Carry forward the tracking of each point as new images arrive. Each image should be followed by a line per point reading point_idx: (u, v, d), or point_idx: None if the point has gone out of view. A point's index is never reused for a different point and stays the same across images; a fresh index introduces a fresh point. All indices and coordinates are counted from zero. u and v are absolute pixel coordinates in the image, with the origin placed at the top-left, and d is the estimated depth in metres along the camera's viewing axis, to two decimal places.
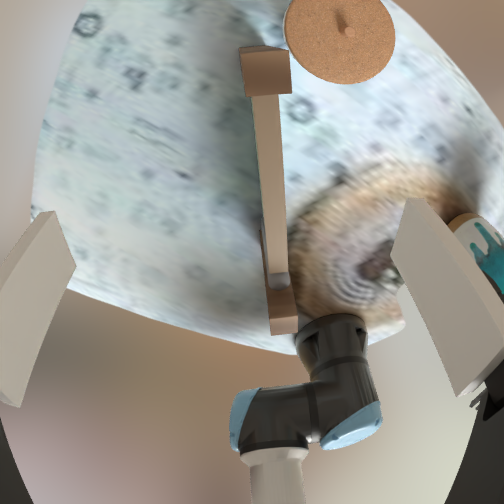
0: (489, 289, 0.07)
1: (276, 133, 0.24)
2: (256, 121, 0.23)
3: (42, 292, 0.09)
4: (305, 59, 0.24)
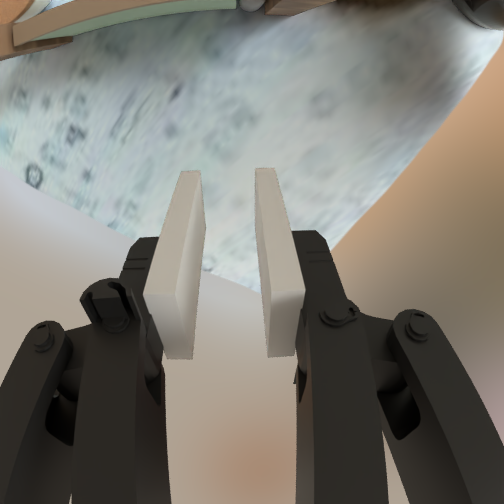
0: (286, 242, 0.08)
1: (44, 15, 0.14)
2: (34, 36, 0.15)
3: (198, 244, 0.11)
4: (21, 3, 0.15)
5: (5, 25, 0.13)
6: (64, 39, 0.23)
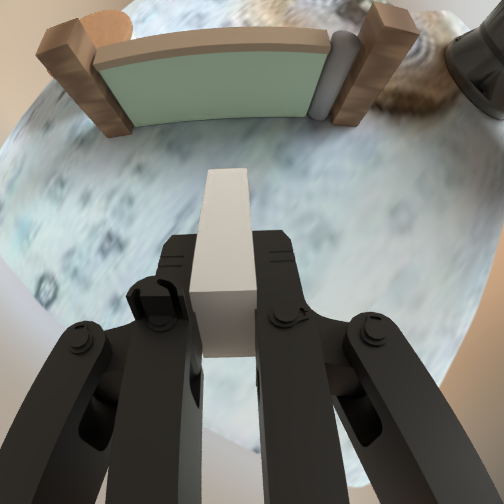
0: (245, 242, 0.08)
1: (135, 41, 0.19)
2: (119, 57, 0.19)
3: None
4: None
5: (91, 43, 0.19)
6: (126, 122, 0.29)
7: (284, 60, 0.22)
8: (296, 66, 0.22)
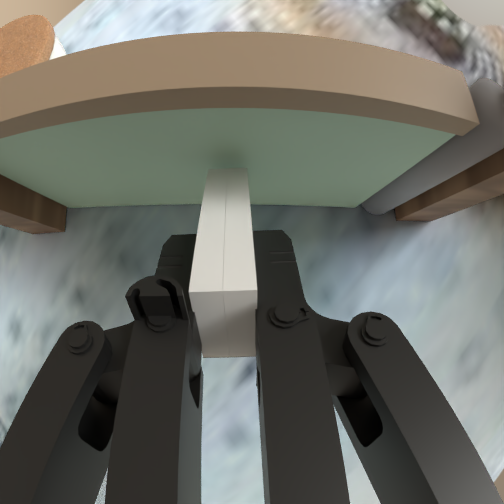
0: (245, 242, 0.08)
1: (1, 84, 0.07)
2: None
3: None
4: None
5: None
6: (50, 219, 0.16)
7: (356, 132, 0.09)
8: (378, 146, 0.10)
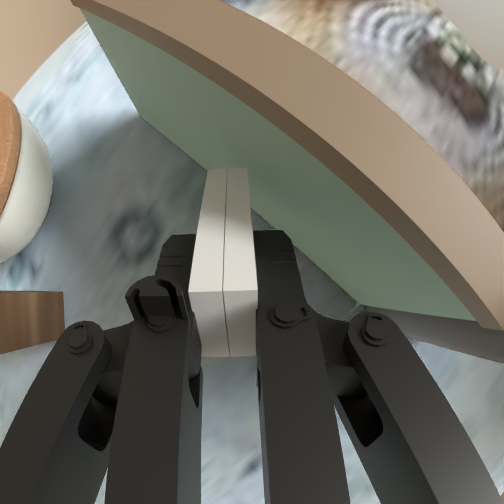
0: (245, 242, 0.08)
1: None
2: None
3: None
4: None
5: None
6: (49, 333, 0.16)
7: (396, 250, 0.09)
8: (407, 276, 0.09)
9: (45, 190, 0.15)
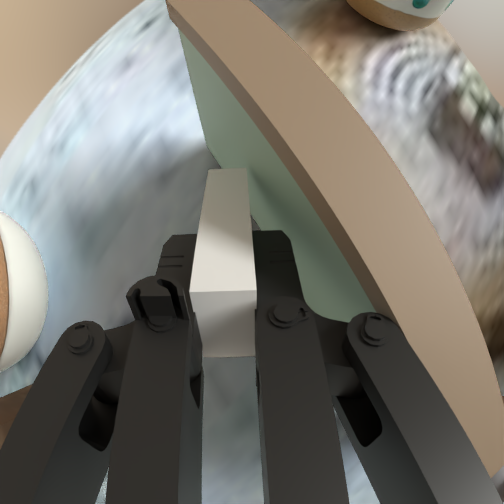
0: (244, 242, 0.08)
1: (272, 34, 0.07)
2: (201, 30, 0.07)
3: None
4: None
5: None
6: None
7: None
8: None
9: (42, 302, 0.15)
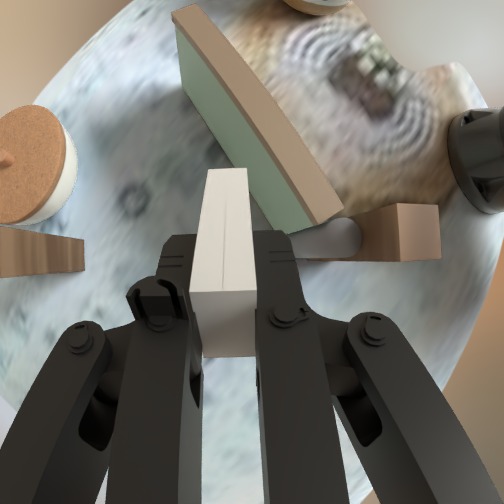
0: (245, 242, 0.08)
1: (213, 30, 0.17)
2: (186, 28, 0.17)
3: None
4: (31, 200, 0.20)
5: (12, 231, 0.15)
6: (76, 266, 0.26)
7: (282, 182, 0.20)
8: (288, 199, 0.21)
9: (76, 172, 0.25)
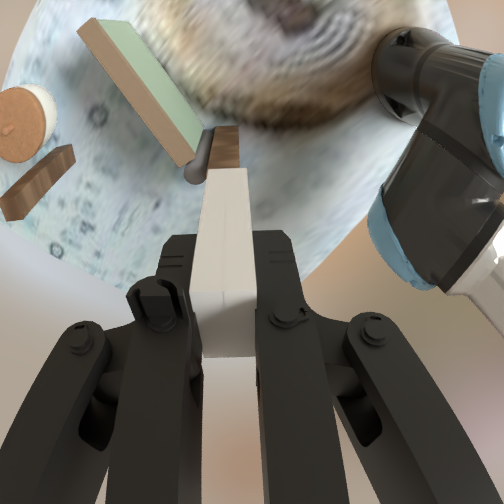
0: (244, 242, 0.08)
1: (106, 44, 0.22)
2: (88, 45, 0.21)
3: None
4: (32, 148, 0.31)
5: (28, 184, 0.29)
6: (69, 164, 0.39)
7: None
8: None
9: (55, 112, 0.33)
